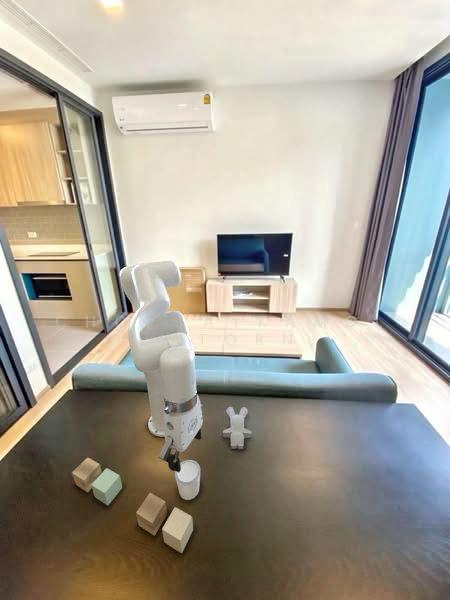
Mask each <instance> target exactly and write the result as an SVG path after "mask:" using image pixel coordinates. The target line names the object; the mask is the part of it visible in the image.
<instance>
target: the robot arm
mask: <svg viewBox="0 0 450 600" xmlns="http://www.w3.org/2000/svg"><path fill="white" fill-rule="evenodd" d="M119 281H120V284H121V287H122V289H123V292H124V294H125V295H126V297H127V300H129V302H130V304H131V305H132V307H133V311H134V315H133V316H132V317H131V320H130V321H129V326H128V330H127V331H128V332H127V337H128V345H129V349H130V354H131V358H132V362H133V366H134V367H135V369H136V370H137V371H138V372H141V373H143V374H144V377H145V382H146V388H147V393H148V394H147V395H148V401H149V407H150V415H151V416H150V417H149V419H148V423H147V427H148V430H149V432H150V433H151V434H152V435H154V436H155V437H159V438H160V437H161V438H164V441H165V442H164V445H163V446H162V449H161V450H160V452H159V455H158V458H159V459H160V460H161V461H164V462H165V463H167V465H168V468H169V470H170V471H172V472H175V471H177V472H180V471H181V466H180V463H181V459H180V458H179V456H180V453H183V452H184V451H186V450H187V449H188V447H189V446H190V444H191V443H192V441H193V440H194V439H196V440H198V441H200V440H201V439H202V426H203V423H204V422H203V421H204V420H203V415H204V414H203V409H204V404H202V403H201V400H200V397H199V395H198V393H197V377H196V365H195V364H196V363H195V362H196V352H195V347H194V345H193V342H192V338H191V334H190V331H189V327H188V323H187V320H186V318H185V316H184V314H183V313H182V312H181V311H179V310H169V309H170V307H171V299H170V295H169V294H168V291H167V289H171V288H177V287H178V286H180V285H181V282H182V273H181V270H180V267H179V265H178V264H177V263H176V262H175V261H173V260H162V261H152V262H144V263H137V264H131V265H127V266H125V267H123V268H122V269H121V270H120V271H119ZM168 310H169V311H168ZM172 450H175V451H174V454H173V453H172Z"/></svg>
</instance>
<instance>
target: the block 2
mask: <svg viewBox="0 0 450 600" xmlns="http://www.w3.org/2000/svg"><path fill="white" fill-rule="evenodd" d="M91 486H92V488H91V490H92V492H93V496H94V498H95V499H97V500H98V501H100V502H101V503H103V504H105V505H106V506H109V505H110V504H111V503H112V501H113V500H114V499H115V498H116V497H117V495H118V494H119V493H120V491H122V489H123V483H122V479H121V475H120V474H118V473H116V472H115V471H112V470H111V469H109V468H107V467H106V468H105V469H104V470H103V471H102V474H101V475H100V476H99V477H98V478H97V479H96V480H95V481H94V482H93V483H92V485H91Z"/></svg>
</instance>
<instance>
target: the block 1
mask: <svg viewBox="0 0 450 600" xmlns="http://www.w3.org/2000/svg"><path fill="white" fill-rule="evenodd" d="M102 473H103V471H102V468H101V464H100V463H98V462H97V461H95V460H93V459H92V458H90V457H86V458H85V459H84V460H83V461H82V462H81V463H80V464H79V465H78V466H77V467H76V468H75V469H74V470H72V471H71V474H72V478H73V480H74V484H75V486H77V487H78V488H80V489H82V490H83V491H85V492H86V493H89V492H90V491H91V490H92V486H91V485H92V483H93V482H94V481H95V480H96V479H97V478H98V477H99V476H100V475H101V474H102Z"/></svg>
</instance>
